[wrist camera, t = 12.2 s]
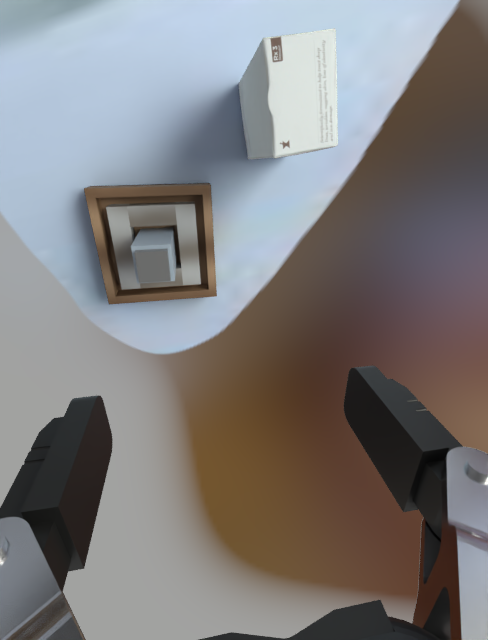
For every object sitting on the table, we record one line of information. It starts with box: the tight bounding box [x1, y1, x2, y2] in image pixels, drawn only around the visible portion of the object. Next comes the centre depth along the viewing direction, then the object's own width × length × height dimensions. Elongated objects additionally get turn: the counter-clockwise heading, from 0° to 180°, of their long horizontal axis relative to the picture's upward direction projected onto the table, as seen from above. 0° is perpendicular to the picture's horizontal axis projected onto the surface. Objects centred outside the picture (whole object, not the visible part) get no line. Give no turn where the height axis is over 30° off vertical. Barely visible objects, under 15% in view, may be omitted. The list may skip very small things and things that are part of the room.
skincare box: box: [239, 28, 338, 160], centre depth 32 cm, size 8×6×15 cm
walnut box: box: [84, 183, 217, 304], centre depth 42 cm, size 14×14×3 cm
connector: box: [131, 227, 176, 283], centre depth 38 cm, size 4×4×10 cm
